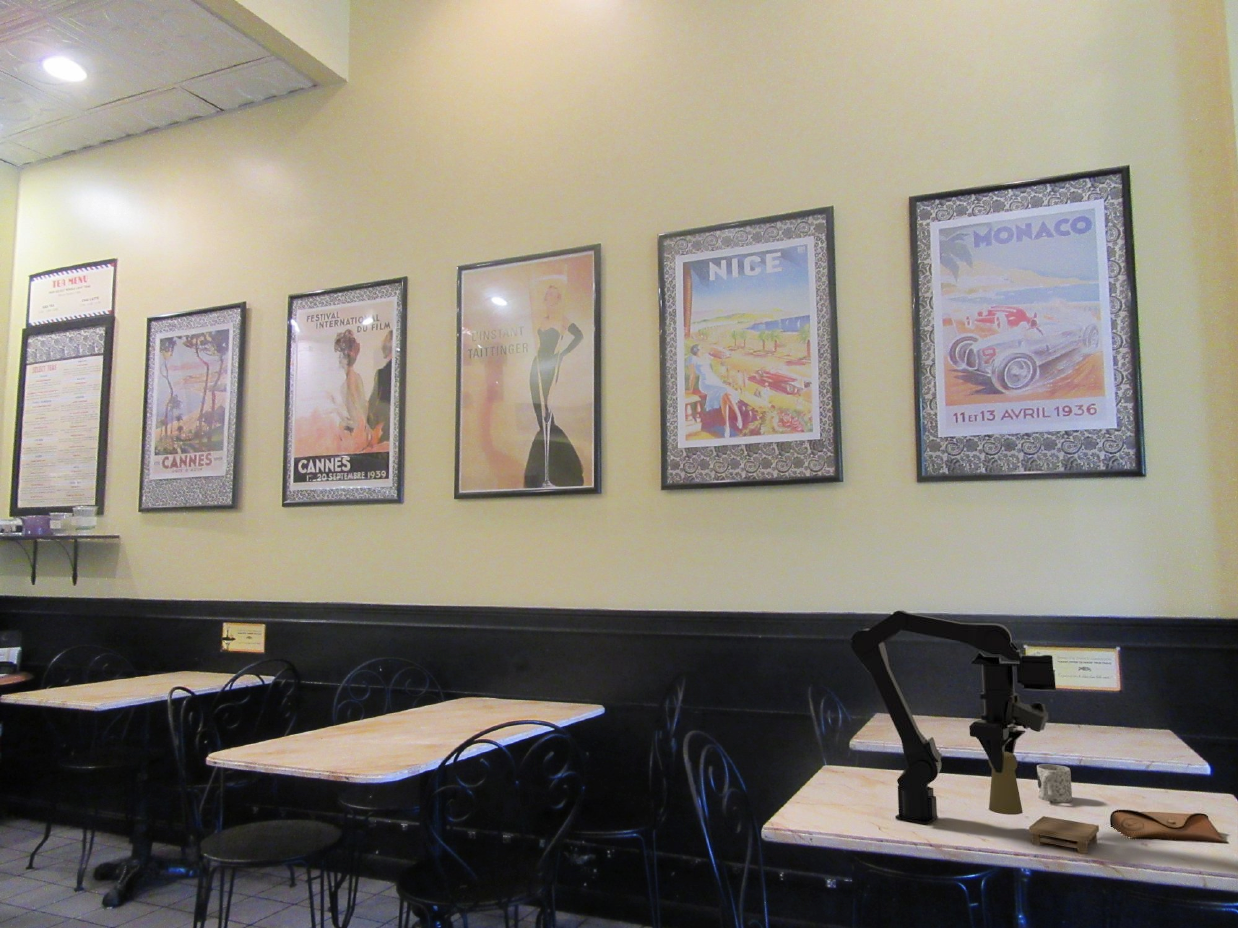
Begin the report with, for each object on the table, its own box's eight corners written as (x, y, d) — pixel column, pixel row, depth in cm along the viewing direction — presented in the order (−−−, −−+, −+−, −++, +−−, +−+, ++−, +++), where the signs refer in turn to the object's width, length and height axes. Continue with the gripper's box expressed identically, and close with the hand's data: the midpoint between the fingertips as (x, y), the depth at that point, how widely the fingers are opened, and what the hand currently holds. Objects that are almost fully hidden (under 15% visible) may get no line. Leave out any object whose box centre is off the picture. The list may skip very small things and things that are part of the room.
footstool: (1030, 843, 159) (1029, 826, 159) (1044, 832, 166) (1043, 815, 167) (1087, 854, 153) (1086, 836, 153) (1099, 842, 160) (1098, 825, 161)
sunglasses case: (1128, 838, 162) (1118, 802, 166) (1116, 849, 167) (1106, 813, 171) (1233, 843, 159) (1220, 805, 163) (1217, 853, 165) (1205, 817, 169)
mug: (1044, 793, 196) (1042, 762, 197) (1076, 798, 191) (1074, 767, 192) (1028, 801, 189) (1026, 769, 190) (1061, 807, 184) (1059, 774, 185)
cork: (1026, 815, 165) (1022, 755, 166) (992, 813, 166) (989, 754, 168) (1018, 806, 171) (1015, 749, 172) (985, 805, 172) (982, 748, 173)
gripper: (1028, 696, 159) (1033, 785, 157) (1055, 686, 173) (1060, 767, 171) (966, 691, 166) (970, 776, 164) (997, 682, 181) (1001, 760, 179)
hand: (1003, 769), depth 170 cm, fingers closed on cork, 5 cm apart
